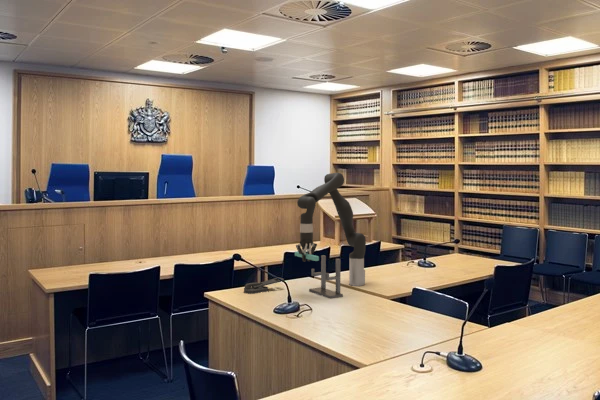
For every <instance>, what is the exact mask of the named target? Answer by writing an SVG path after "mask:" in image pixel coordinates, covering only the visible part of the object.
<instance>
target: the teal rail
mask: <svg viewBox="0 0 600 400" xmlns="http://www.w3.org/2000/svg"><path fill="white" fill-rule="evenodd" d="M294 257H298V258H302V254H299V252H298V250H297V251H294ZM307 259H309V260H310V261H313V262H314V261H315V262H318V261H320V256H319V255H316V254H315V255H314V254H307V252H306V260H307Z"/></svg>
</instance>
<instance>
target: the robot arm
mask: <svg viewBox="0 0 600 400" xmlns="http://www.w3.org/2000/svg"><path fill="white" fill-rule="evenodd" d="M323 179H324V180H323V181H324V183H323V184H321V185H319V186H316V188H314V189H312V190H311V191H310V192H308V193H305V194H303V195H301V196H300V197H299V198H298V199H297V203H296V204H297V206H298V208H300V209H302V210H305V212H302V213H300V221H299V222H300V224H299V239H300V241H299V243H298V244H296V245H295V247H296V249H297V251H298V252H299V254H302V257H301V261H302V262H304V263H305V262H311V260H309V259H306V253H307V254H311V255H313V254H314V253H315V251H316V248H317V247H318V244H317V243H314V223H313V219H314V218H313V217H314V213H315V209H316V206H317V205H316V203H318V202H319V201H321V200H322V199H323V198H324V197H325V196H327V195H328V194H329V196H330V197H331V200H332V202H333V204H334V206H335V210H336V213H337V215H338V218H339V219H340V222H341V223H340V224H341V225H342V228H343V231H344V236H345V239H346V242H347V245H348V246H350V247H353V251H352V252H350V253H349V255H348V256H349V257H348V258H349V259H348V260H349V268H348V269H349V274H348V275H349V277H348V279H349V280H348V283H349V286H353V287H360V286H361V287H362V286H365V285H366V270H365V255H366V247H367V246H366V245H367V244H366V243H367V241H366V236H365V235H364V234H363V233H360V232H356V229H355V228H354V225H353V224H354V223H353V220H354V210H353V209H352V206H351V204H350V202H349V201H348V200H347V199H346V198H345V197H344V196H343V195H342V194H341V193H340V191H339V190H338V189H340V188H341V187H342V186H344V183H345V176H344V175H343V173H342V172H332V173H328V174H326V175H324V178H323Z"/></svg>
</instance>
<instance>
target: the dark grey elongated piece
mask: <svg viewBox="0 0 600 400" xmlns="http://www.w3.org/2000/svg"><path fill="white" fill-rule="evenodd" d="M277 278H280V279H282V280H284V281H285V279H284V278H282V277H279V276H278V277H275V278H271V279H268V280H264V281H261V282H250V283H249V282H248V283H246V284H245V285H244V287H243V293H244V294H247V293H248V294H247V295H253V294H259V293H261V292H262V293H267V291H268V292H269V287H268V286H270V285H273V284H278V283H281V281H280V280H279V279H277Z"/></svg>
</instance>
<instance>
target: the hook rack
mask: <svg viewBox="0 0 600 400" xmlns="http://www.w3.org/2000/svg"><path fill="white" fill-rule="evenodd" d="M320 258H321V259H320V260H321V261H320V269H321V270H320V271H318V272H315V268H311V277H318V276H320V286H319V287H313V288H308V291H309V292H310V293H312V294H313V293H314V294H316V295H319V296H321V297H324V298H327V299H329V300H330V299H331V300H332V299H338V298H342V297H344V294H343V293H341V258H335V275H333V276H332V275H331V276H330V272H327V271H326V270H327V268H326V267H327V264H326V261H327V256H326V255H324V254H323V255H320ZM333 280H334V281H335V290H332V289H328V288H327V287H326V286H327V285H326V283H327V282H326V281H333Z"/></svg>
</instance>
